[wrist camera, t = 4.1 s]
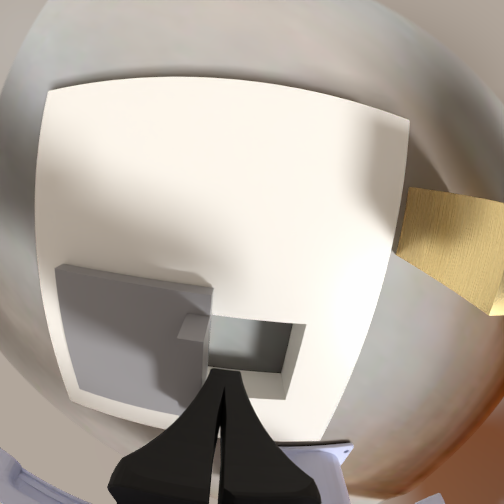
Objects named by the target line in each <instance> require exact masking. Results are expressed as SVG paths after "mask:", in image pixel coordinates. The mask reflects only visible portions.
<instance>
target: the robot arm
mask: <svg viewBox="0 0 504 504" xmlns="http://www.w3.org/2000/svg"><path fill="white" fill-rule="evenodd" d="M219 429H220V446H221V467H220V480H219V493H218V504H351V502H350V499H349V495H348V491H347V488H346V484H345V481H344V477H343V473H342V470H341V464H342V463H343V462H344V460H345V459H346V457H347V456H348V455H349V453H350V452H351V450H352V449H353V447H354V446H353V444H352V443H343V444H333V445H319V446H296V447H278V446H277V444H276V443H275V442H274V441H273V439H272V438H271V437H270V435H269V434H268V433H267V431H266V430H265V428H264V427H263V425H262V423H261V422H260V420H259V418H258V416H257V415H256V413H255V411H254V409H253V407H252V405H251V402H250V400H249V398H248V395H247V393H246V390H245V387H244V384H243V380H242V376H241V372H240V371H235V370H226V369H218V368H212V369H210V372H209V375H208V377H207V379H206V381H205V383H204V385H203V386H202V388H201V389H200V391H199V392H198V394H197V395H196V397H195V398H194V400H193V401H192V402H191V404H190V405H189V406H188V407H187V409H186V410H185V411H184V412H183V413H182V414H181V416H180V417H179V418H178V419H177V420H176V421H175V422H174V423H173V424H172V425H170V426H169V427H168V428H167V429H166V430H165V431H164V432H163V433H161V434H160V435H159V436H158V437H156V438H155V439H153V440H152V441H150V442H149V443H148V444H146V445H145V446H143V447H142V448H140V449H138V450H136V451H135V452H133V453H131V454H129V455H127V456H125V457H123V458H122V459H121V460H120V462H119V463H118V465H117V466H116V468H115V470H114V472H113V473H112V475H111V478H110V481H109V484H108V487H107V488H108V490H109V492H110V493H111V495H112V496H113V498H114V499H115V500H116V502H117V504H209V496H210V485H211V474H212V464H213V458H214V452H215V448H216V443H217V438H218V433H219ZM0 502H1V503H2V504H91V503H88V502H86V501H84V500H81V499H79V498H77V497H75V496H73V495H71V494H69V493H67V492H64V491H62V490H60V489H58V488H57V487H55V486H52V485H51V484H49V483H47V482H45V481H44V480H42V479H40V478H38V477H37V476H35V475H33V474H32V473H30V472H28V471H27V470H25V469H24V468H22V467H21V465H20V463H19V462H18V461H17V460H16V459H15V458H14V457H12V456H11V455H10V454H8V453H7V452H6V451H4V450H3V449H1V448H0ZM415 504H445V502H444V500H443V498H442V496H441V494H440V493H437V494H435V495H432V496H430V497H428V498H425V499H423V500H421V501H419V502H417V503H415Z"/></svg>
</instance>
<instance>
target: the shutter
mask: <svg viewBox="0 0 504 504" xmlns="http://www.w3.org/2000/svg"><path fill="white" fill-rule="evenodd" d="M54 269H55V278H56V286H57V294H58V301H59V307H60V313H61V318H62V323H63V328H64V333H65V338H66V342H67V346H68V350H69V354H70V358H71V362H72V366H73V369H74V373H75V376H76V379H77V383H78V386H79V389H81V390H84V391H87V392H90V393H92V394H95V395H99V396H102V397H105V398H108V399H111V400H115V401H118V402H122V403H125V404H129V405H133V406H137V407H141V408H145V409H149V410H154V411H158V412H163V413H168V414H173V415H178V416H179V417H180V416H181V414H182V413H183V412H184V411H185V410H186V409H187V407H188V406H189V405H190V404H191V402H192V401H193V400H194V398H195V397H196V395H197V394H198V392H199V391H200V389H201V388H202V386H203V385H204V383H205V381H206V379H207V372H208V356H209V341H210V328H211V315H212V303H213V292H214V288H211V287H204V286H196V285H189V284H182V283H175V282H168V281H161V280H155V279H148V278H142V277H136V276H130V275H124V274H118V273H112V272H106V271H101V270H95V269H90V268H84V267H79V266H74V265H68V264H61V265H59V266H58V267H56V268H54Z"/></svg>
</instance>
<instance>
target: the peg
mask: <svg viewBox="0 0 504 504" xmlns="http://www.w3.org/2000/svg"><path fill="white" fill-rule="evenodd" d="M396 255H397V256H399V257H400V258H402V259H404V260H405V261H407V262H409V263H410V264H412V265H414V266H415V267H417V268H418V269H420V270H422V271H423V272H425V273H426V274H428V275H430V276H431V277H433V278H434V279H436V280H437V281H439V282H441V283H442V284H444V285H445V286H447V287H448V288H450V289H451V290H453V291H454V292H456V293H457V294H459V295H460V296H462V297H463V298H465V299H466V300H468V301H469V302H470V303H472V304H473V305H475V306H476V307H478V308H479V309H480V310H482V311H483V312H485V313H486V314H487V315H489V316H491V315H504V203H502V202H497V201H492V200H487V199H482V198H477V197H471V196H466V195H460V194H454V193H448V192H441V191H435V190H427V189H420V188H412V187H409V190H408V197H407V203H406V208H405V214H404V219H403V224H402V229H401V234H400V239H399V243H398V248H397V252H396Z"/></svg>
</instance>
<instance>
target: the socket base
mask: <svg viewBox="0 0 504 504" xmlns="http://www.w3.org/2000/svg"><path fill="white" fill-rule="evenodd" d="M409 124H410V120H408V119H405V118H402V117H400V116H397V115H394V114H391V113H389V112H386V111H383V110H380V109H377V108H374V107H370V106H367V105H364V104H361V103H357V102H354V101H350V100H346V99H343V98H339V97H335V96H331V95H327V94H323V93H318V92H314V91H309V90H304V89H299V88H294V87H288V86H282V85H276V84H269V83H262V82H254V81H246V80H236V79H223V78H207V77H147V78H131V79H120V80H110V81H102V82H94V83H88V84H81V85H75V86H70V87H65V88H60V89H55V90H51V91H48V95H47V99H46V104H45V109H44V114H43V119H42V125H41V131H40V138H39V146H38V155H37V166H36V181H35V236H36V251H37V262H38V271H39V279H40V286H41V293H42V299H43V304H44V310H45V315H46V320H47V324H48V329H49V333H50V337H51V341H52V345H53V349H54V352H55V356H56V359H57V363H58V366H59V369H60V372H61V375H62V378H63V381H64V384H65V387H66V390H67V393H68V395H69V398H70V400H71V401H72V402H74V403H77V404H80V405H82V406H85V407H88V408H90V409H93V410H96V411H99V412H102V413H105V414H108V415H112V416H115V417H118V418H122V419H125V420H129V421H132V422H136V423H140V424H144V425H148V426H153V427H157V428H162V429H167V428H168V427H169V426H170V425H172V424H173V423H174V422H175V421H176V420H177V419H178V418H179V416H178V415H173V414H168V413H163V412H158V411H154V410H149V409H145V408H141V407H137V406H133V405H129V404H125V403H122V402H118V401H115V400H111V399H108V398H105V397H102V396H99V395H95V394H92V393H90V392H87V391H84V390H81V389H79V386H78V383H77V379H76V376H75V373H74V369H73V366H72V362H71V358H70V354H69V350H68V346H67V342H66V338H65V333H64V328H63V323H62V318H61V313H60V307H59V301H58V294H57V286H56V278H55V269H54V268H56V267H58V266H59V265H61V264H68V265H74V266H79V267H84V268H90V269H95V270H101V271H106V272H112V273H118V274H124V275H130V276H136V277H142V278H148V279H155V280H161V281H168V282H175V283H182V284H189V285H196V286H204V287H211V288H214V292H213V303H212V315H218V316H226V317H234V318H243V319H252V320H262V321H272V322H283V323H293V326H292V331H291V335H290V339H289V343H288V348H287V352H286V356H285V360H284V364H283V368H282V372H281V373H268V372H255V371H244V370H235V371H240V372H241V376H242V380H243V384H244V387H245V390H246V393H247V395H248V398H249V400H250V402H251V405H252V407H253V409H254V411H255V413H256V415H257V416H258V418H259V420H260V422H261V423H262V425H263V427H264V428H265V430H266V431H267V433H268V434H269V435H270V437H271V438H272V439H273V441H282V442H288V441H320V439H321V437H322V436H323V434H324V432H325V430H326V428H327V426H328V424H329V422H330V420H331V418H332V416H333V414H334V412H335V410H336V407H337V405H338V403H339V401H340V399H341V397H342V394H343V392H344V390H345V388H346V385H347V383H348V381H349V378H350V376H351V373H352V371H353V369H354V366H355V364H356V361H357V358H358V356H359V353H360V351H361V348H362V345H363V343H364V340H365V337H366V334H367V331H368V328H369V325H370V322H371V319H372V316H373V313H374V310H375V307H376V304H377V300H378V297H379V294H380V290H381V287H382V283H383V280H384V276H385V272H386V268H387V264H388V260H389V256H390V252H391V248H392V243H393V239H394V234H395V229H396V224H397V219H398V214H399V208H400V203H401V197H402V190H403V183H404V176H405V168H406V160H407V150H408V139H409ZM212 368H217V367H209V366H208V372H207V377H208V375H209V372H210V369H212ZM218 369H225V368H218ZM226 370H234V369H226ZM218 438H220V429H219V433H218Z"/></svg>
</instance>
